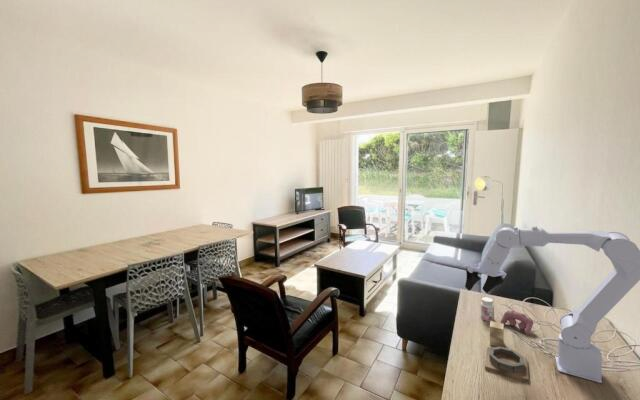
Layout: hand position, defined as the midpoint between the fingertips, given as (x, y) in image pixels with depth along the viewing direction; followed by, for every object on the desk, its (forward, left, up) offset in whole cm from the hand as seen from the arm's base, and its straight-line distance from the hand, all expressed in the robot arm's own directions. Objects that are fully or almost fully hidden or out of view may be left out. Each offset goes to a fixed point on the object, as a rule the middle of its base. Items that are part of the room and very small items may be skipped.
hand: (476, 289), depth 98 cm
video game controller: (-12, -16, -20) cm, 28 cm away
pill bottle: (-2, -18, -20) cm, 27 cm away
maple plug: (-6, -1, -19) cm, 20 cm away
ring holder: (-9, +10, -19) cm, 24 cm away
